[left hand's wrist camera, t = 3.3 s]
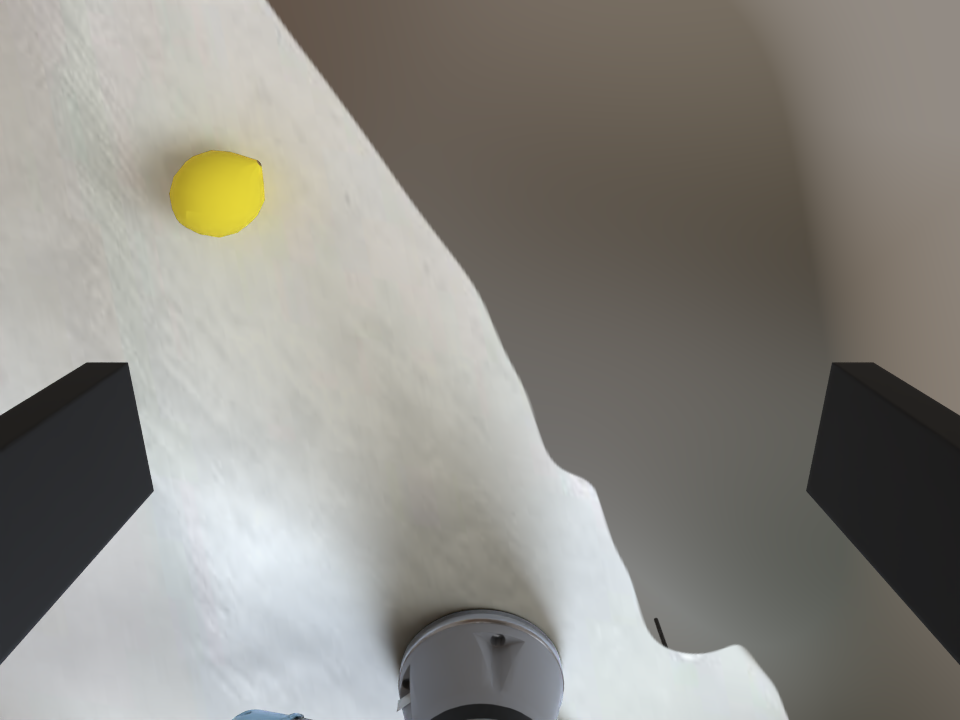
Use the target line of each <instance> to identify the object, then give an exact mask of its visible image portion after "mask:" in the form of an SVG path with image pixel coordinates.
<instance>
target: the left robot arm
mask: <svg viewBox="0 0 960 720" xmlns="http://www.w3.org/2000/svg"><path fill="white" fill-rule="evenodd" d="M153 491H154V490H153V485H152V480H151V475H150V470H149V465H148V460H147V455H146V450H145V445H144V440H143V435H142V430H141V425H140V420H139V415H138V410H137V405H136V401H135V396H134V391H133V386H132V381H131V376H130V371H129V366H128V363H85V364H84V365H82V366H80V367H79V368H77V369H75V370H74V371H72V372H70V373H69V374H67V375H66V376H64V377H62V378H61V379H59V380H57V381H56V382H54V383H53V384H51V385H49V386H48V387H46V388H44V389H43V390H41V391H39V392H38V393H36V394H35V395H33V396H31V397H30V398H28V399H26V400H25V401H23V402H22V403H20V404H18V405H17V406H15V407H13V408H12V409H10V410H9V411H7V412H5V413H4V414H2V415H0V665H1V663H2V662H3V661H4V660H5V659H6V658H7V657H8V655H9V654H10V653H11V652H12V651H13V650H14V649H15V648H16V646H17V645H18V644H19V643H20V642H21V641H22V640H23V638H24V637H25V636H26V635H27V634H28V633H29V632H30V631H31V629H32V628H33V627H34V626H35V625H36V624H37V623H38V621H39V620H40V619H41V618H42V617H43V616H44V615H45V614H46V612H47V611H48V610H49V609H50V608H51V607H52V606H53V604H54V603H55V602H56V601H57V600H58V599H59V598H60V597H61V595H62V594H63V593H64V592H65V591H66V590H67V589H68V587H69V586H70V585H71V584H72V583H73V582H74V581H75V580H76V578H77V577H78V576H79V575H80V574H81V573H82V572H83V570H84V569H85V568H86V567H87V566H88V565H89V564H90V563H91V561H92V560H93V559H94V558H95V557H96V556H97V555H98V553H99V552H100V551H101V550H102V549H103V548H104V547H105V546H106V544H107V543H108V542H109V541H110V540H111V539H112V538H113V537H114V535H115V534H116V533H117V532H118V531H119V530H120V529H121V527H122V526H123V525H124V524H125V523H126V522H127V521H128V520H129V518H130V517H131V516H132V515H133V514H134V513H135V512H136V510H137V509H138V508H139V507H140V506H141V505H142V504H143V503H144V501H145V500H146V499H147V498H148V497H149V496H150V495H151V493H152V492H153ZM806 491H807V492H808V493H809V495H810V496H811V497H812V498H813V499H814V500H815V501H816V503H817V504H818V505H819V506H820V507H821V508H822V509H823V510H824V512H825V513H826V514H827V515H828V516H829V517H830V518H831V520H832V521H833V522H834V523H835V524H836V525H837V526H838V527H839V529H840V530H841V531H842V532H843V533H844V534H845V535H846V537H847V538H848V539H849V540H850V541H851V542H852V543H853V544H854V546H855V547H856V548H857V549H858V550H859V551H860V552H861V553H862V555H863V556H864V557H865V558H866V559H867V560H868V561H869V562H870V564H871V565H872V566H873V567H874V568H875V569H876V570H877V572H878V573H879V574H880V575H881V576H882V577H883V578H884V580H885V581H886V582H887V583H888V584H889V585H890V586H891V587H892V589H893V590H894V591H895V592H896V593H897V594H898V595H899V597H900V598H901V599H902V600H903V601H904V602H905V603H906V604H907V606H908V607H909V608H910V609H911V610H912V611H913V612H914V614H915V615H916V616H917V617H918V618H919V619H920V620H921V621H922V623H923V624H924V625H925V626H926V627H927V628H928V629H929V631H930V632H931V633H932V634H933V635H934V636H935V637H936V638H937V639H938V641H939V642H940V643H941V644H942V645H943V646H944V648H945V649H946V650H947V651H948V652H949V653H950V654H951V655H952V657H953V658H954V659H955V660H956V661H957V662H958V663H959V664H960V415H958V414H956V413H955V412H953V411H951V410H950V409H948V408H947V407H945V406H943V405H942V404H940V403H938V402H937V401H935V400H934V399H932V398H930V397H929V396H927V395H925V394H924V393H922V392H921V391H919V390H917V389H916V388H914V387H912V386H911V385H909V384H907V383H906V382H904V381H903V380H901V379H899V378H898V377H896V376H894V375H893V374H891V373H890V372H888V371H886V370H885V369H883V368H881V367H880V366H878V365H876V364H875V363H832V366H831V371H830V376H829V381H828V386H827V391H826V396H825V401H824V406H823V410H822V416H821V421H820V425H819V430H818V435H817V440H816V445H815V450H814V455H813V460H812V465H811V470H810V475H809V480H808V485H807V490H806ZM654 622H655V625H656V628H657V631H658V633H659V636H660V639H661V642H662V645H663V646H664V647H666V648H668V646H667V643H666V640H665V637H664V635H663V632H662V629H661V626H660V623H659V620H658V618H654ZM563 691H564V679H563V672H562V665H561V661H560V657H559V654H558V651H557V650H556V648H555V646H554V644H553V643H552V641H551V640H550V639H549V638H548V636H547V635H546V634H545V633H544V632H543V631H542V630H540V629H539V628H538V627H537V626H535V625H534V624H532V623H530V622H529V621H527V620H525V619H523V618H521V617H518V616H516V615H513V614H509V613H506V612H501V611H495V610H467V611H462V612H457V613H453V614H450V615H447V616H444V617H442V618H440V619H438V620H436V621H434V622H432V623H430V624H429V625H427V626H426V627H425V628H423V629H422V630H421V631H420V632H419V633H418V634H417V635H416V636H415V637H414V638H413V639H412V641H411V642H410V643H409V645H408V647H407V648H406V650H405V653H404V655H403V658H402V662H401V668H400V675H399V695H400V700H399V701H398V707H397V711H399V710H400V709H402V710H403V714H404V718H405V720H557V718H558V713H559V709H560V706H561V703H562V698H563ZM233 720H311V719H306V718H304V715H302V714H298V713H293V714H290V715H286V714H280V713H275V712H269V711H264V710H248V711H245V712H243V713H241V714H239V715H237V716H236V717H235V718H234V719H233Z"/></svg>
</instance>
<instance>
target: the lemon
mask: <svg viewBox="0 0 960 720" xmlns="http://www.w3.org/2000/svg"><path fill="white" fill-rule="evenodd" d="M169 195H170V200H171V205H172V210H173V212H174V214H175V216H176V219H177V220H178V221H179V223H181V224H182V225H183V226H185V227H186V228H188V229H191V230H192V231H194V232H196V233H199V234H202V235H208V236H213V237H223V236H227V235H231V234H234V233H238V232H239V231H240V230H242V229H243V228H244V227H245V226H247V225H248V224H249V223H251V222H252V221H253V220H254V218H255V217H256V216H257V215H258V213H259V211H260V209H261V207H262V205H263V203H264V200H265V198H264V183H263V174H262V166H261V164H260V162H259V161H258V160H255V159H252V158H248V157H245V156H242V155H239V154H235V153H232V152H226V151H213V150H210V151H208V152H205V153H202V154H199V155H196V156H193V157H192V158H190V159H189V160H188V161H186V162H185V163H184V165H183V166H182V167H181V168H180V170H179V171H178V172H177V173H176V175H175V176H174V178H173V182H172V185H171V189H170V193H169Z"/></svg>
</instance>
